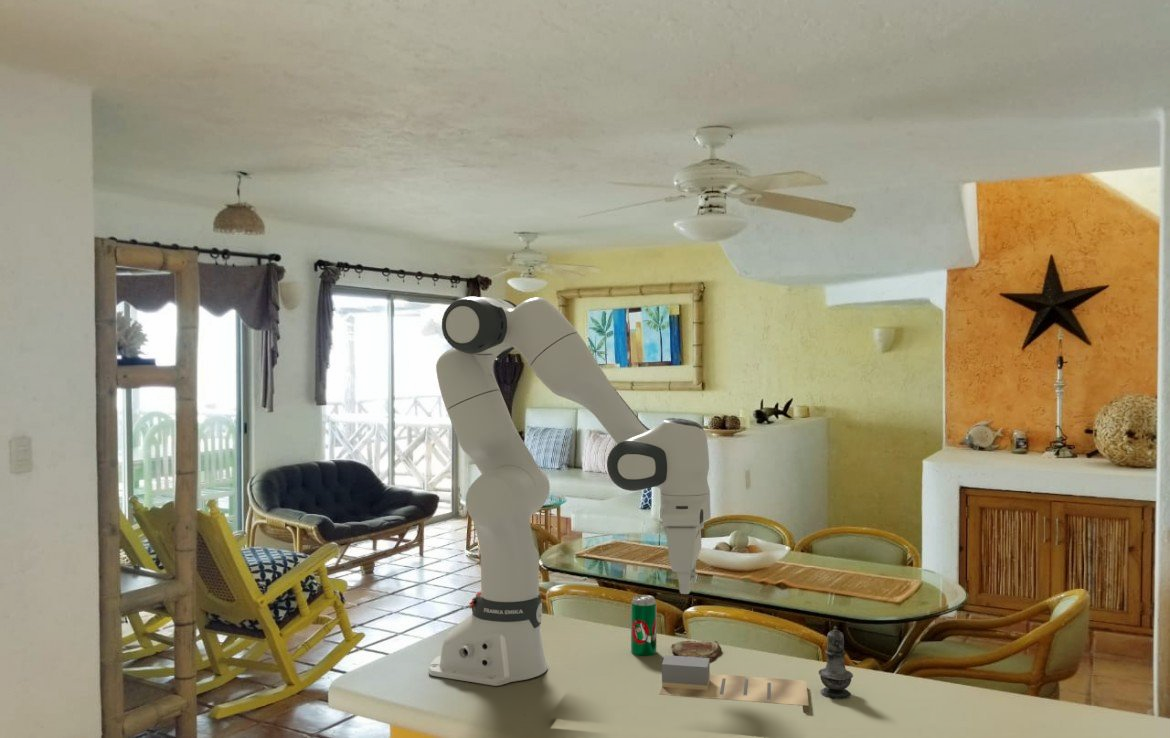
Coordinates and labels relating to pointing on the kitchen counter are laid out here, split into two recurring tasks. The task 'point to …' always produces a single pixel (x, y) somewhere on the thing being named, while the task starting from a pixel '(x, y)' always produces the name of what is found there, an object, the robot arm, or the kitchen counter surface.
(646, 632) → the soda can
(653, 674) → the kitchen counter surface
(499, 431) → the robot arm
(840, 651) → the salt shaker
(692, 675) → the block
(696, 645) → the oyster shell
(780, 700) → the board
